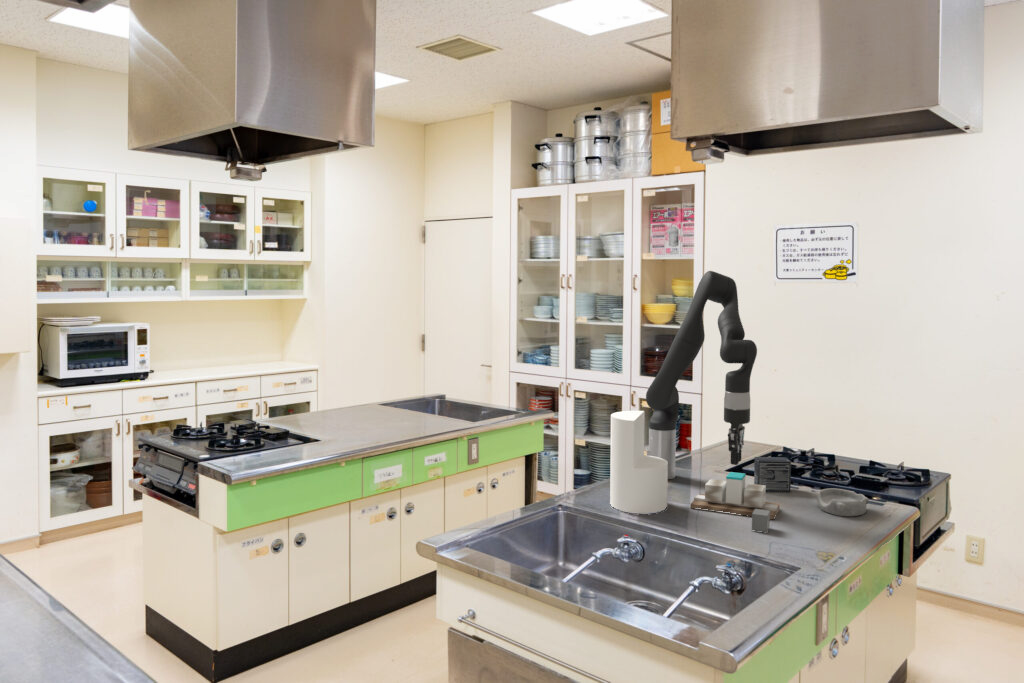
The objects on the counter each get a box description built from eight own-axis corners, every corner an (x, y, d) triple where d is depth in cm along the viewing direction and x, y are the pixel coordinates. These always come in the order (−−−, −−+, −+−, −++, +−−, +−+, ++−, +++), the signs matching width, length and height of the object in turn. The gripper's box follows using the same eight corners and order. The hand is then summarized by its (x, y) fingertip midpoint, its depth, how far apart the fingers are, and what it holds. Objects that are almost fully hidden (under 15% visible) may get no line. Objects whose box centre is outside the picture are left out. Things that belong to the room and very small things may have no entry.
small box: (786, 487, 250) (786, 456, 249) (791, 493, 244) (792, 461, 243) (753, 486, 251) (754, 456, 250) (757, 492, 245) (758, 460, 244)
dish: (845, 520, 216) (846, 503, 216) (806, 507, 229) (807, 491, 228) (878, 513, 223) (879, 496, 223) (839, 501, 235) (839, 485, 235)
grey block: (751, 531, 208) (752, 513, 207) (754, 526, 212) (755, 508, 212) (766, 533, 206) (767, 515, 205) (769, 528, 210) (770, 510, 210)
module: (725, 502, 226) (726, 476, 225) (729, 497, 231) (730, 471, 231) (741, 504, 224) (741, 478, 223) (744, 499, 229) (745, 473, 228)
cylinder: (604, 511, 226) (605, 419, 223) (616, 495, 242) (617, 409, 240) (662, 517, 220) (663, 422, 218) (671, 500, 236) (672, 412, 234)
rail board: (690, 508, 228) (690, 485, 227) (699, 498, 238) (700, 475, 238) (773, 520, 217) (774, 495, 216) (779, 508, 227) (780, 484, 227)
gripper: (729, 401, 233) (727, 456, 234) (719, 409, 220) (718, 466, 222) (754, 403, 229) (752, 459, 231) (745, 411, 217) (744, 469, 218)
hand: (735, 462), depth 226 cm, fingers open, 3 cm apart
